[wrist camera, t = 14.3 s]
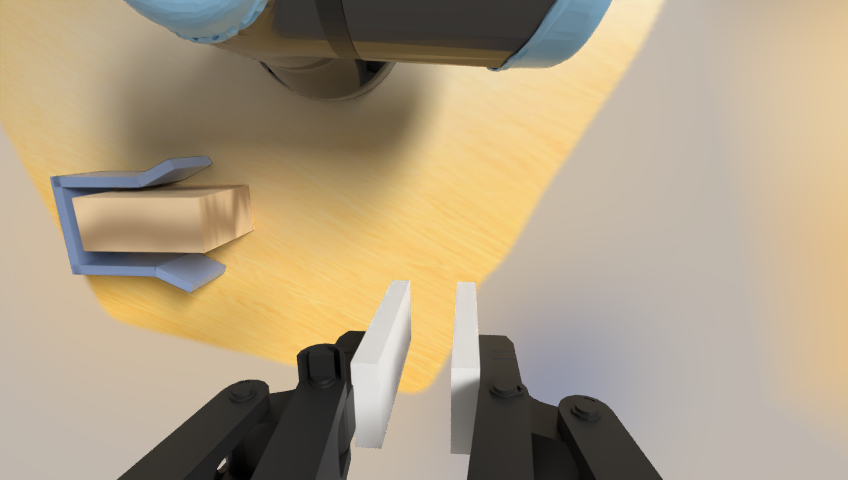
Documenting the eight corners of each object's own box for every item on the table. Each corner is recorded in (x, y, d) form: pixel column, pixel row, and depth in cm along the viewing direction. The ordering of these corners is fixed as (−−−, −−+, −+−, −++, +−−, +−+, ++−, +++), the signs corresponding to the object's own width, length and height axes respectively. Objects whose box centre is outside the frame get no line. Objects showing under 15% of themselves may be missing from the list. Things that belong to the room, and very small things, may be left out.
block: (145, 185, 46) (71, 197, 37) (248, 185, 45) (196, 197, 36) (154, 229, 47) (84, 251, 39) (254, 230, 46) (204, 252, 38)
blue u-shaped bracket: (99, 156, 46) (45, 159, 40) (211, 155, 44) (172, 159, 39) (122, 270, 49) (76, 289, 43) (227, 273, 48) (194, 292, 42)
